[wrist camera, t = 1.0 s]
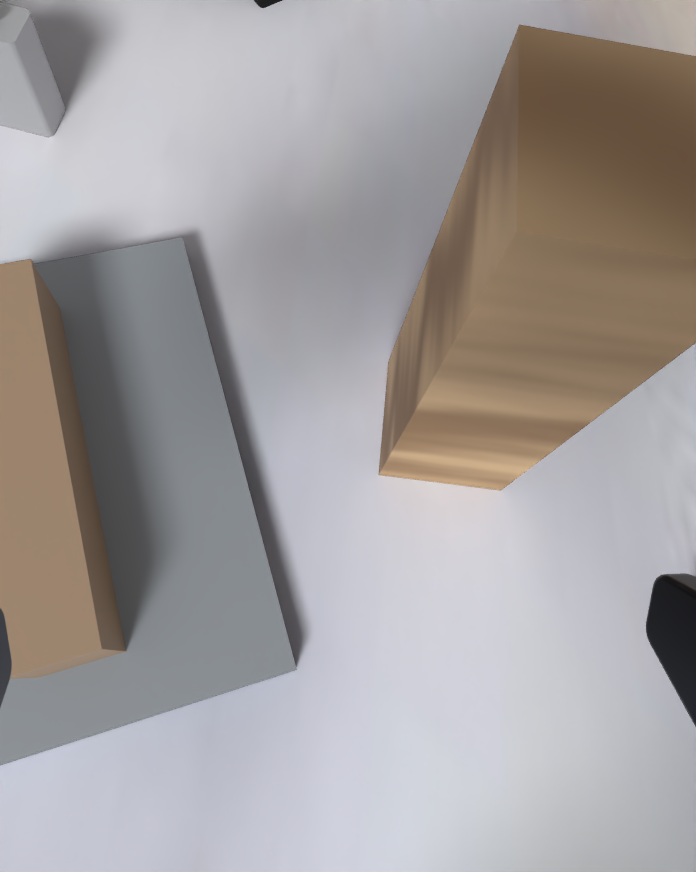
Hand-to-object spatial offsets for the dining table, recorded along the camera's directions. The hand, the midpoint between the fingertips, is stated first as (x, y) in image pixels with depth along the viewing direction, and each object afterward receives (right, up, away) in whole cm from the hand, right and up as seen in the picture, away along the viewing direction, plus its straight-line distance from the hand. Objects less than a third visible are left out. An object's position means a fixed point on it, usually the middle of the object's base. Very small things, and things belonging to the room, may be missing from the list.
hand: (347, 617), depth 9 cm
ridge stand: (-10, +1, +13) cm, 16 cm away
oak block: (+4, +3, +15) cm, 16 cm away
